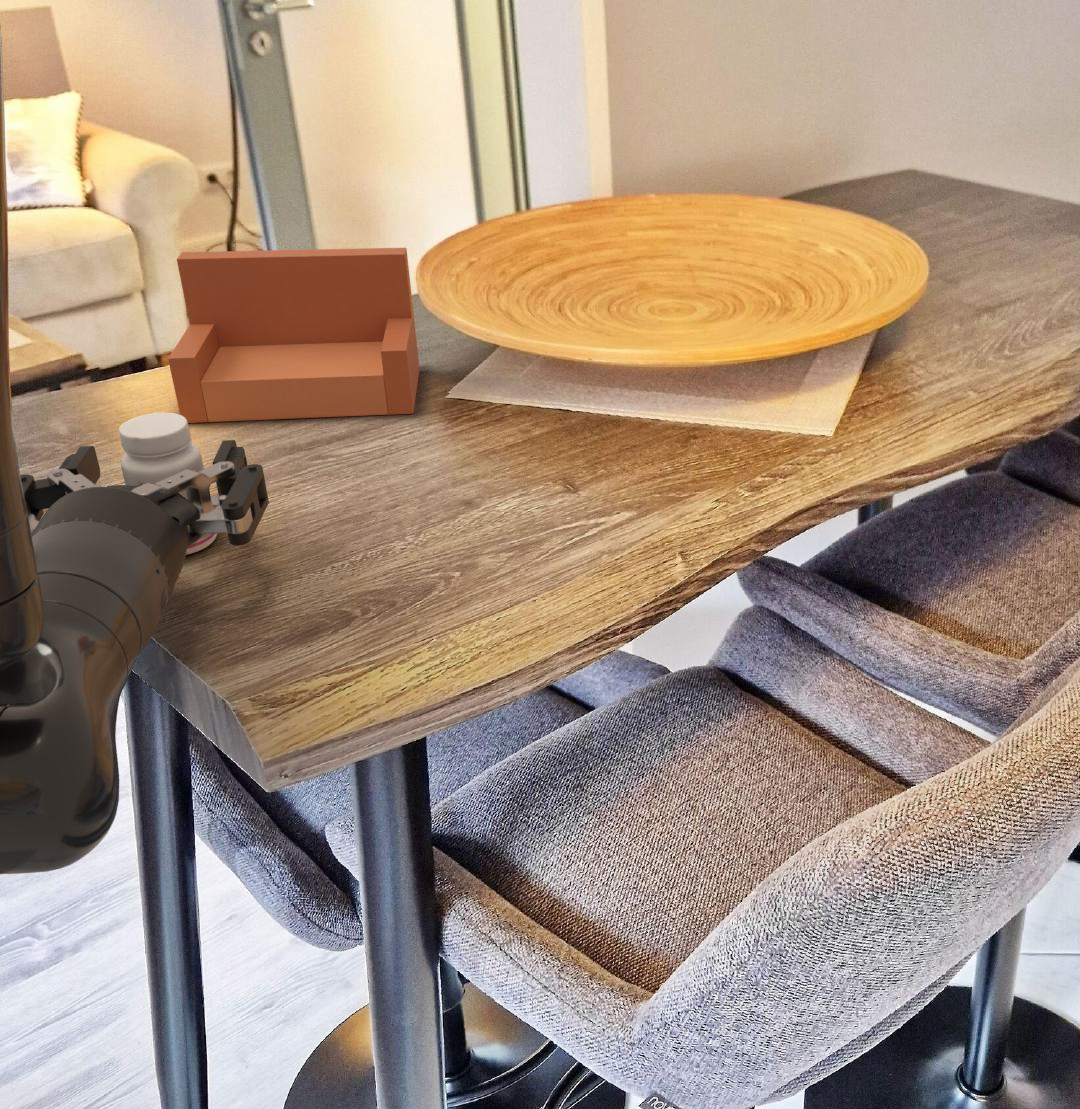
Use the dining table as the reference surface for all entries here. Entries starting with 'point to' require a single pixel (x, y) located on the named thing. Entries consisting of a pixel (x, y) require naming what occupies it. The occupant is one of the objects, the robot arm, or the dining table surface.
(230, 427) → the dining table surface
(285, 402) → the couch
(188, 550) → the pill bottle
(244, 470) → the robot arm
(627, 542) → the dining table surface
